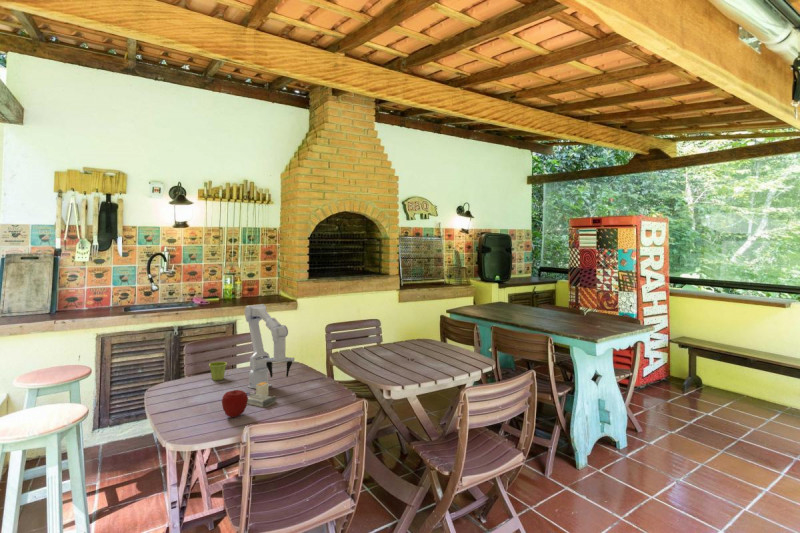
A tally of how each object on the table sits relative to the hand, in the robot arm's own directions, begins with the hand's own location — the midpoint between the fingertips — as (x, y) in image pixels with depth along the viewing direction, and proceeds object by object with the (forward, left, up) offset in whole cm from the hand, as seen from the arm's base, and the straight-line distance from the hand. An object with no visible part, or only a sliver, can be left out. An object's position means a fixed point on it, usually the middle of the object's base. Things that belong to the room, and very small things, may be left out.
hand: (279, 376), depth 211 cm
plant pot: (-48, +6, -10) cm, 50 cm away
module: (-7, -4, -10) cm, 13 cm away
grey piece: (-3, -12, -10) cm, 16 cm away
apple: (0, -29, -10) cm, 31 cm away
